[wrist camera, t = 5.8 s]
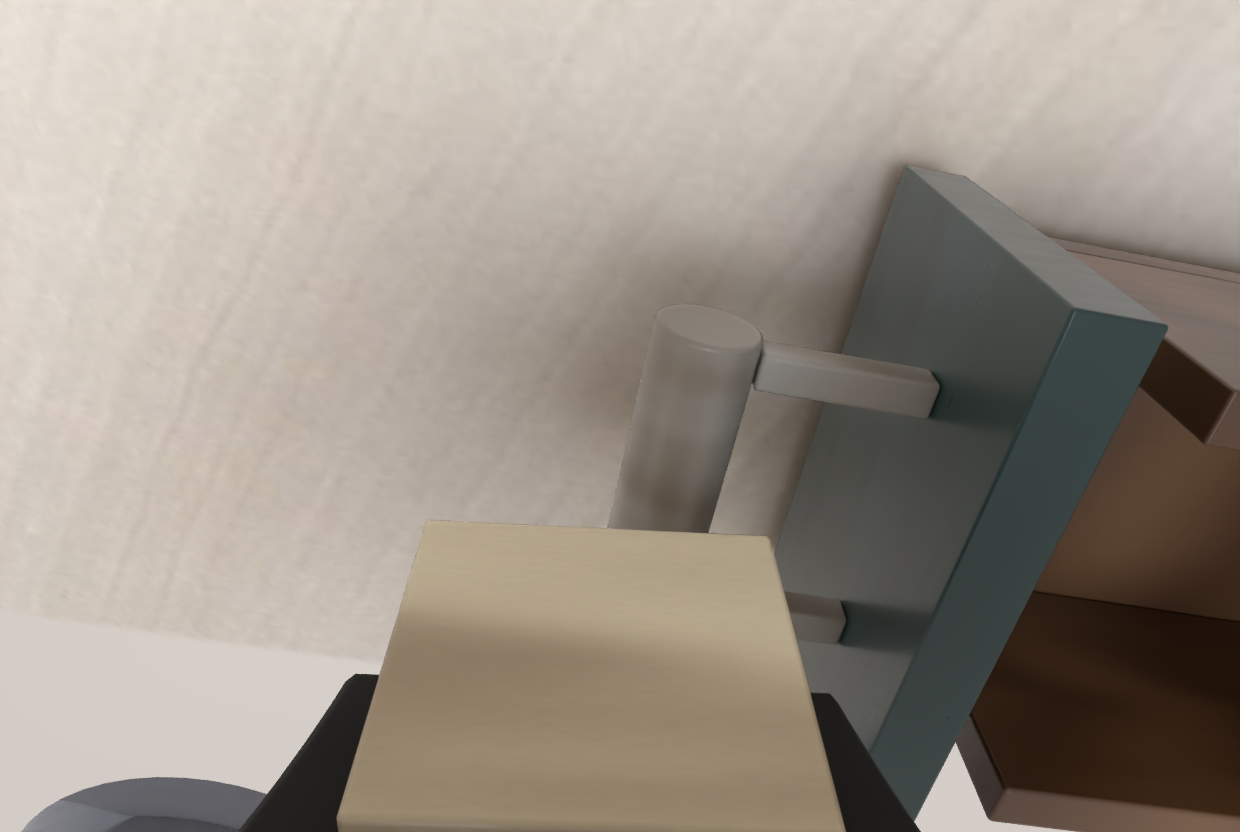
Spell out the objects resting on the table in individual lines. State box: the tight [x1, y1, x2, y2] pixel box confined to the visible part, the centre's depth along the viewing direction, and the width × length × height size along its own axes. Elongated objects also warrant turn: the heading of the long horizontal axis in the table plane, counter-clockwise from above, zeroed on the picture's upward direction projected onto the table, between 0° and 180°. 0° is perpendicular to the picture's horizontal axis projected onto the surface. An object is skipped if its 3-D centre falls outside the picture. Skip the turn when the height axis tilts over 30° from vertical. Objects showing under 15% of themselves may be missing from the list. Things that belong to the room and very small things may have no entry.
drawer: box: [607, 165, 1240, 832], centre depth 16 cm, size 20×9×7 cm, turn 79°
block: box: [336, 520, 846, 832], centre depth 10 cm, size 4×4×4 cm
